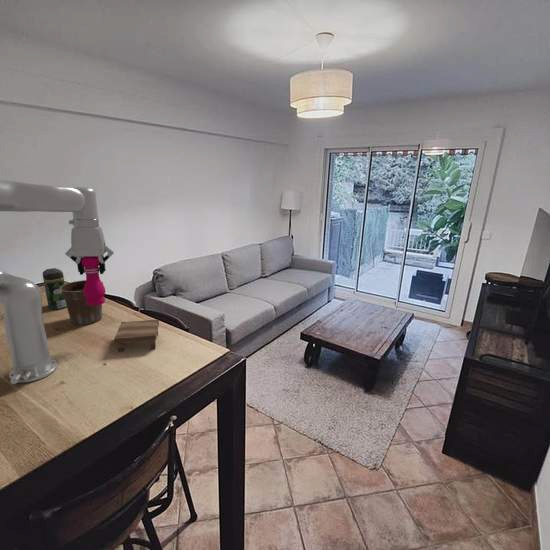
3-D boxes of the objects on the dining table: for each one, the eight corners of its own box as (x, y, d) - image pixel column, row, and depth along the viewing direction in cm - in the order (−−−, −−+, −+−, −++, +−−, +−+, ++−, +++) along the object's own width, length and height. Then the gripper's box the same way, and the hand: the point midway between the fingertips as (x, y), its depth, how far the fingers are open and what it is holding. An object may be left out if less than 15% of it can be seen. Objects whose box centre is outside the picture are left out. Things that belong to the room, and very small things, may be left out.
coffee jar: (46, 305, 155) (40, 268, 150) (65, 301, 160) (60, 266, 155) (50, 311, 149) (43, 273, 143) (70, 307, 154) (64, 270, 148)
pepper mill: (110, 300, 123) (105, 249, 117) (98, 307, 116) (92, 253, 110) (92, 298, 123) (86, 247, 118) (80, 305, 117) (73, 251, 111)
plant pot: (69, 314, 147) (64, 280, 142) (109, 310, 152) (105, 278, 148) (61, 329, 132) (55, 293, 128) (105, 325, 138) (100, 289, 133)
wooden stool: (156, 349, 120) (155, 335, 118) (115, 353, 116) (114, 338, 115) (159, 332, 133) (158, 319, 131) (123, 335, 129) (121, 322, 128)
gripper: (54, 225, 106) (61, 277, 111) (111, 225, 110) (116, 275, 115) (62, 222, 113) (69, 271, 118) (115, 222, 117) (120, 270, 122)
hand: (92, 273), depth 116 cm, fingers closed on pepper mill, 5 cm apart
